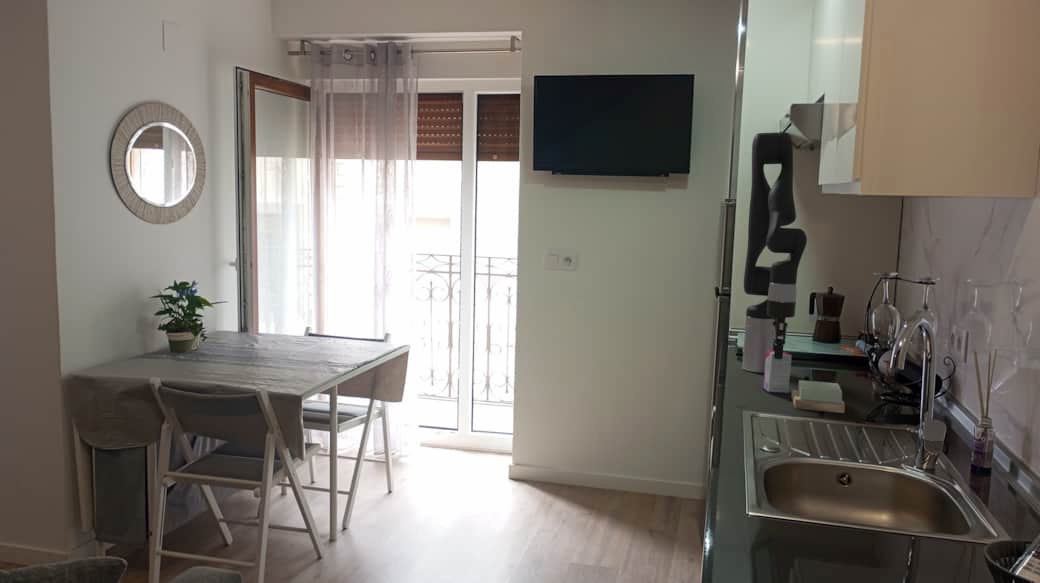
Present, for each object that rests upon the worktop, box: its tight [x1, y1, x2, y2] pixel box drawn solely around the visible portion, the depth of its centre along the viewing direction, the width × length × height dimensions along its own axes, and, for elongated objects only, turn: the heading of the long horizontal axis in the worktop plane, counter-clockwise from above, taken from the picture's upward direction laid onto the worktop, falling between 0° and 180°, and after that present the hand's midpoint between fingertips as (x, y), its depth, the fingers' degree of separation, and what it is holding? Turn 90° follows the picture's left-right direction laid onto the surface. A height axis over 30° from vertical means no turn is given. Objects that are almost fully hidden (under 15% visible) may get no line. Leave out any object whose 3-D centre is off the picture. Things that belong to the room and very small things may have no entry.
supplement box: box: [762, 350, 793, 395], centre depth 221 cm, size 6×6×12 cm
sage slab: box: [797, 379, 843, 403], centre depth 208 cm, size 10×10×3 cm
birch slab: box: [791, 388, 846, 414], centre depth 208 cm, size 12×12×3 cm
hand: (777, 356), depth 220 cm, fingers open, 8 cm apart
